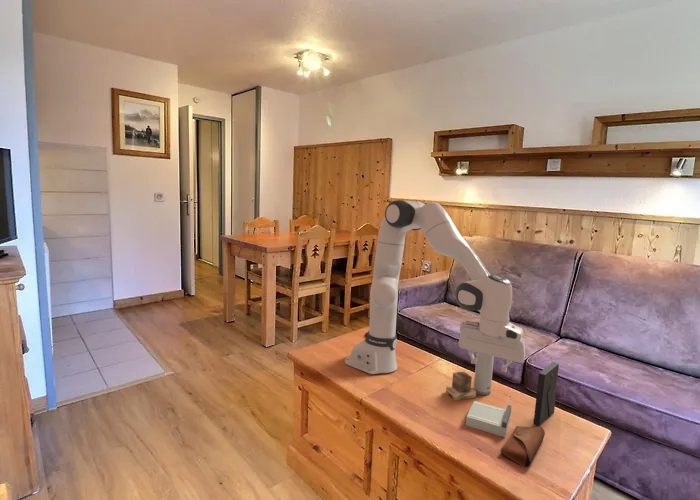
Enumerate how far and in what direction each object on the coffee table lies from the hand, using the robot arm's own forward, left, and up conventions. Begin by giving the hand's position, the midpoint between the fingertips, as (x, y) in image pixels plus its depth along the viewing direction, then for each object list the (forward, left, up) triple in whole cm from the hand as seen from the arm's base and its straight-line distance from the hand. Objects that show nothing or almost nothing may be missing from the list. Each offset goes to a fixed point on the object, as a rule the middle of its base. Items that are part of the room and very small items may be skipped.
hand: (488, 367), depth 127 cm
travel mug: (-4, +21, -19) cm, 29 cm away
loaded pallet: (-11, +14, -19) cm, 26 cm away
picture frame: (+17, +14, -19) cm, 29 cm away
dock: (+2, 0, -19) cm, 19 cm away
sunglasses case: (+11, -8, -20) cm, 24 cm away
